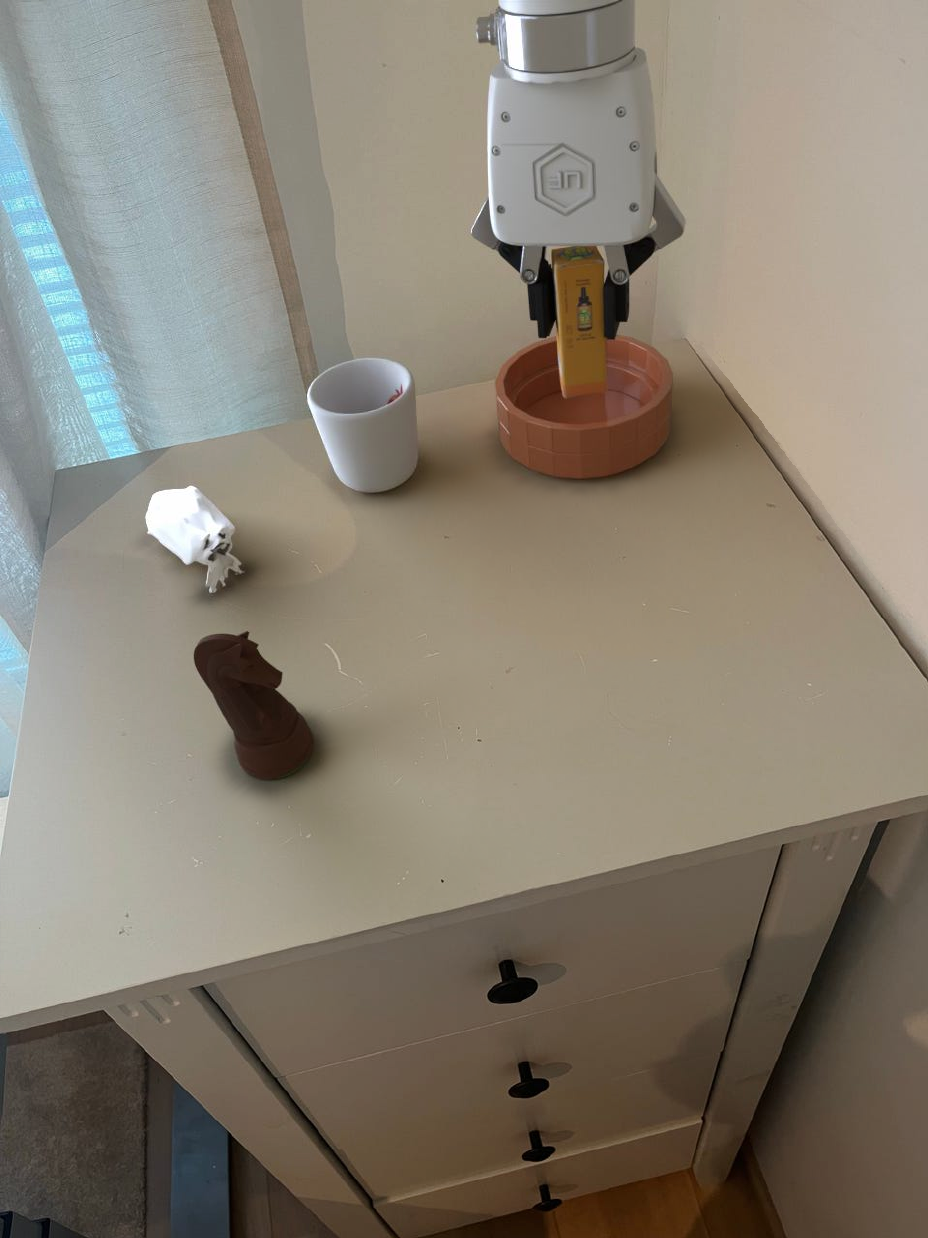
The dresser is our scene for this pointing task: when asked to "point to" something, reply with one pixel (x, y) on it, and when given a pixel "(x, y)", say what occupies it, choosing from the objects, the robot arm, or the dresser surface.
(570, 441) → the bowl
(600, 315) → the supplement box
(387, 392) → the cup
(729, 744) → the dresser surface
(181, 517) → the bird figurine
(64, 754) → the dresser surface
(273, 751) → the chess piece
